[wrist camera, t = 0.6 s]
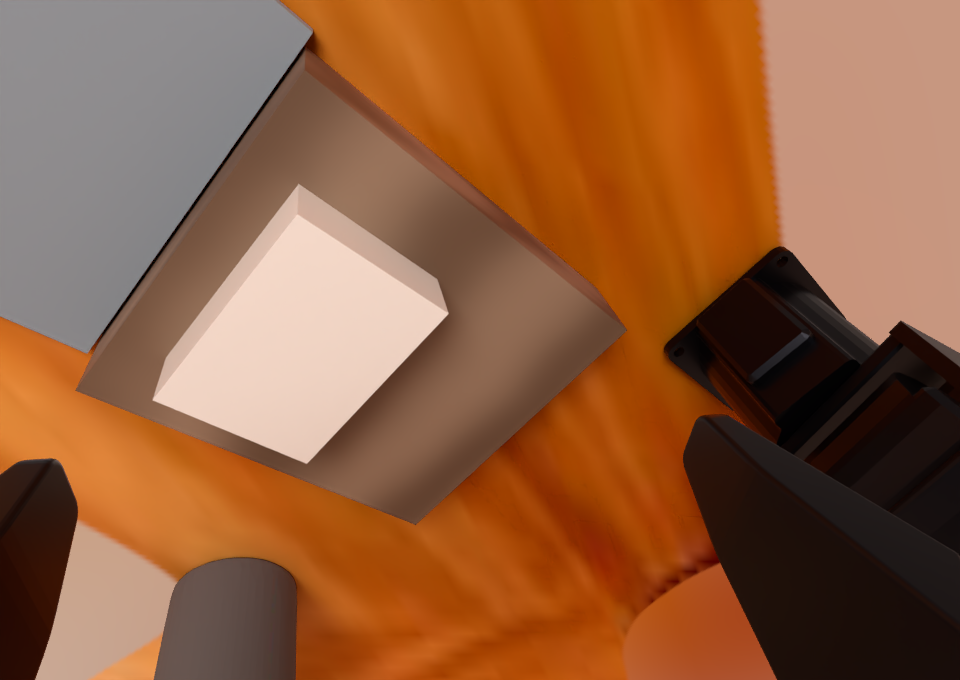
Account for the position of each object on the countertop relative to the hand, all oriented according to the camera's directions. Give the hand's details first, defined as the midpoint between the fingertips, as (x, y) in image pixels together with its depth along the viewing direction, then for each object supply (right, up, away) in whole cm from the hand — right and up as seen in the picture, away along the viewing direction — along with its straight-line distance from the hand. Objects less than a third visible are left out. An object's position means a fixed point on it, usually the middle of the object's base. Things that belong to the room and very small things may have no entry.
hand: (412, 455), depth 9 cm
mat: (-11, +8, +8) cm, 16 cm away
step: (-3, +3, +14) cm, 14 cm away
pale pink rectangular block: (-5, +2, +10) cm, 11 cm away
